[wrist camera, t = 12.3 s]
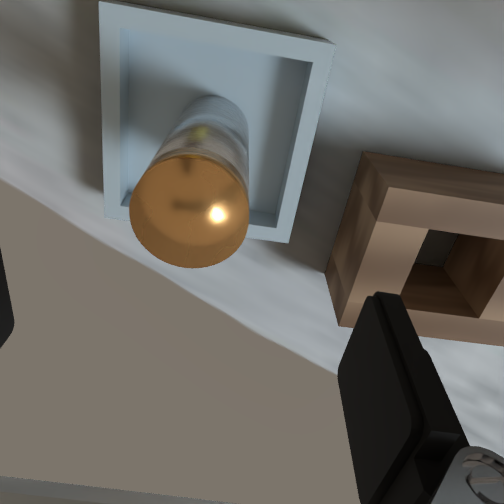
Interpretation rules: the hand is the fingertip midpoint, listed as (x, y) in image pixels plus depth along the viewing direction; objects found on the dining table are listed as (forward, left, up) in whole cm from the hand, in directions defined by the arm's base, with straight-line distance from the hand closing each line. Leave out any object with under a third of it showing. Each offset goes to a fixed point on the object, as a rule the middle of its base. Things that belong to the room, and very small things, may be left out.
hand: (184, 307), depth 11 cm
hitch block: (+5, +15, -18) cm, 24 cm away
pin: (0, 0, -17) cm, 17 cm away
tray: (0, -1, -18) cm, 18 cm away
